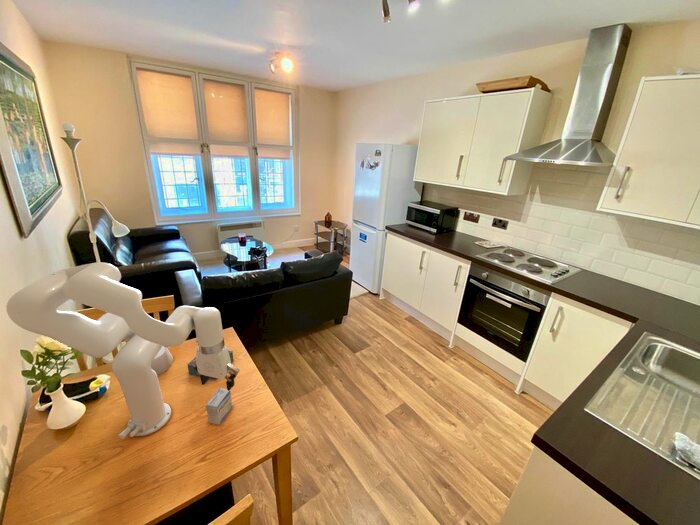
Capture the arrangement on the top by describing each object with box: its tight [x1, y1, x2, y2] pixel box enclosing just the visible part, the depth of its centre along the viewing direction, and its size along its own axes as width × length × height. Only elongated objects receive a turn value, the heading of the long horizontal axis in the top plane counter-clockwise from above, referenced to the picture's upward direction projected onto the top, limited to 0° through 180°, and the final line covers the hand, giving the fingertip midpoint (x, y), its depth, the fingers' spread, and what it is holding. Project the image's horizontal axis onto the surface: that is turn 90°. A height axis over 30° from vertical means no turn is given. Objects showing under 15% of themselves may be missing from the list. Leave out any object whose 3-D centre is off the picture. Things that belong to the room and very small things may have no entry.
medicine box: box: [205, 387, 233, 426], centre depth 102 cm, size 8×4×9 cm, turn 168°
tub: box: [187, 349, 234, 381], centre depth 124 cm, size 13×13×5 cm
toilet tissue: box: [151, 346, 174, 377], centre depth 122 cm, size 9×13×9 cm
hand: (218, 384), depth 99 cm, fingers open, 9 cm apart
